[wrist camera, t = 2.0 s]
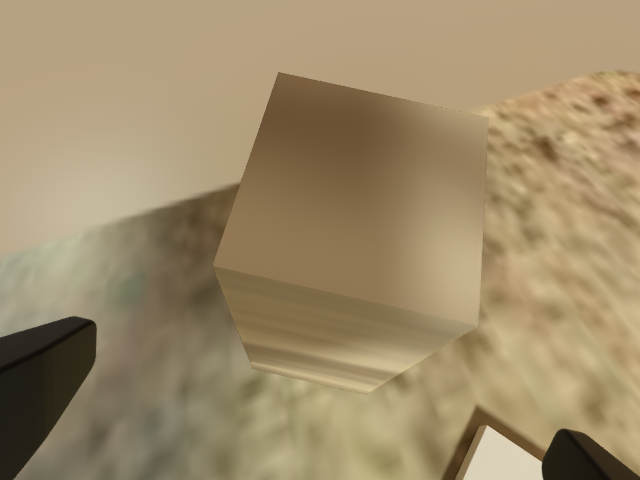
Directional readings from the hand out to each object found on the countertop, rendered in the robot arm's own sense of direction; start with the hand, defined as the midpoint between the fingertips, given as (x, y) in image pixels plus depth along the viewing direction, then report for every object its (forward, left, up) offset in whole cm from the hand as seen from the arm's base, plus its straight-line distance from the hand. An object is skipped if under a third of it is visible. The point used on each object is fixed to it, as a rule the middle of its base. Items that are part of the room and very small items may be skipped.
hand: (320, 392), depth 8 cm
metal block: (+3, +2, -11) cm, 12 cm away
